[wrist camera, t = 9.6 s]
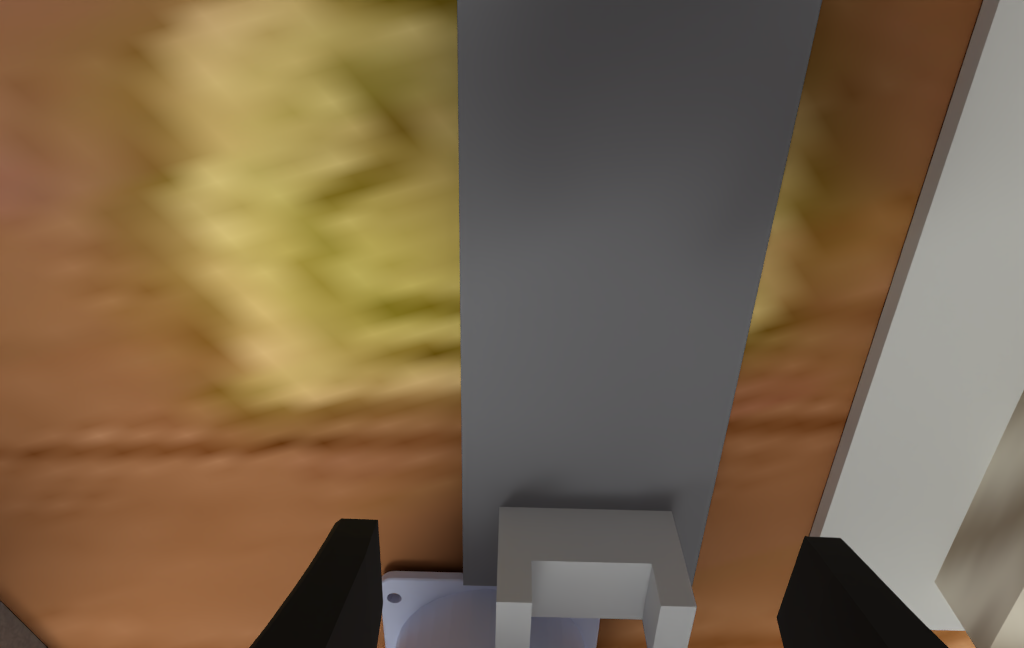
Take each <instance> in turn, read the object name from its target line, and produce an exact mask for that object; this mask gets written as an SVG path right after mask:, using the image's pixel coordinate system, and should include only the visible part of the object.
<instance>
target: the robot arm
mask: <svg viewBox="0 0 1024 648" xmlns="http://www.w3.org/2000/svg"><path fill="white" fill-rule="evenodd" d="M393 593H396V594H393ZM496 596H497V586H470V585H463V573H458V572H418V571H390V572H387V573H385V574H384V575H383V576H382V577H381V561H380V546H379V531H378V520H366V519H340V520H339V521H338V522H336V523H335V525H334V526H333V528H332V530H331V532H330V533H329V535H328V537H327V538H326V540H325V542H324V543H323V545H322V546H321V548H320V550H319V551H318V553H317V554H316V556H315V558H314V559H313V561H312V562H311V564H310V565H309V567H308V568H307V570H306V571H305V573H304V574H303V576H302V577H301V579H300V580H299V582H298V583H297V584H296V586H295V587H294V589H293V590H292V592H291V593H290V594H289V596H288V597H287V598H286V600H285V601H284V603H283V604H282V605H281V607H280V608H279V609H278V611H277V612H276V614H275V615H274V616H273V618H272V619H271V620H270V622H269V623H268V625H267V626H266V627H265V629H264V630H263V631H262V632H261V634H260V635H259V636H258V638H257V639H256V640H255V641H254V642H253V644H252V645H251V646H250V647H249V648H377V642H378V635H379V629H380V622H381V615H382V616H383V627H384V637H385V648H495V636H496ZM777 621H778V625H779V629H780V633H781V638H782V642H783V646H784V648H948V647H947V646H946V645H945V644H944V643H943V642H942V641H941V640H940V639H939V638H938V637H937V636H936V635H935V634H934V633H933V632H932V631H931V630H930V629H929V628H928V627H927V626H926V625H925V624H924V623H923V622H922V621H921V620H920V619H919V618H918V617H917V616H916V615H915V614H914V613H913V612H912V611H911V610H910V609H909V608H908V607H907V606H906V605H905V604H904V603H903V602H902V601H901V599H900V598H899V597H898V596H897V595H896V594H895V593H894V592H893V591H892V590H891V589H890V588H889V587H888V586H887V585H886V584H885V583H884V582H883V581H882V580H881V579H880V578H879V577H878V576H877V575H876V574H875V573H874V571H873V570H872V569H871V568H870V567H869V566H868V565H867V564H866V563H865V562H864V561H863V560H862V559H861V558H860V557H859V556H858V555H857V554H856V553H855V552H854V551H853V550H852V549H851V548H850V547H849V546H848V545H847V544H846V543H845V542H844V541H843V540H842V539H841V538H834V537H808V536H805V537H804V540H803V543H802V546H801V548H800V551H799V554H798V557H797V560H796V563H795V566H794V569H793V572H792V575H791V578H790V580H789V583H788V586H787V589H786V592H785V595H784V598H783V601H782V604H781V607H780V610H779V612H778V615H777ZM599 624H600V618H561V617H531V630H530V647H529V648H596V646H597V639H598V631H599Z"/></svg>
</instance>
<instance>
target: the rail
mask: <svg viewBox="0 0 1024 648" xmlns="http://www.w3.org/2000/svg"><path fill="white" fill-rule="evenodd" d="M935 584H936V585H937V587H938V588H939V590H940V592H941V593H942V595H943V596H944V598H945V599H946V601H947V603H948V604H949V606H950V607H951V609H952V610H953V612H954V614H955V615H956V617H957V618H958V620H959V621H960V623H961V625H962V626H963V628H964V629H965V631H966V632H967V634H968V636H969V637H970V639H971V640H972V642H973V644H974V645H975V647H976V648H1024V390H1023V393H1022V395H1021V397H1020V399H1019V401H1018V403H1017V406H1016V408H1015V410H1014V412H1013V414H1012V416H1011V418H1010V421H1009V423H1008V425H1007V427H1006V429H1005V431H1004V433H1003V436H1002V438H1001V440H1000V442H999V444H998V446H997V449H996V451H995V453H994V455H993V457H992V459H991V461H990V464H989V466H988V468H987V470H986V472H985V474H984V476H983V479H982V481H981V483H980V485H979V487H978V489H977V492H976V494H975V496H974V498H973V500H972V502H971V504H970V507H969V509H968V511H967V513H966V515H965V517H964V519H963V522H962V524H961V526H960V528H959V530H958V532H957V535H956V537H955V539H954V541H953V543H952V545H951V547H950V550H949V552H948V554H947V556H946V558H945V560H944V562H943V565H942V567H941V569H940V571H939V573H938V575H937V578H936V580H935Z"/></svg>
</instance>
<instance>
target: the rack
mask: <svg viewBox="0 0 1024 648" xmlns="http://www.w3.org/2000/svg"><path fill="white" fill-rule="evenodd" d="M821 3H822V0H457V27H458V124H459V222H460V320H461V417H462V515H463V585H470V586H497V596H496V636H495V648H529V647H530V630H531V617H561V618H602V619H642V621H643V627H644V632H645V638H646V643H647V648H687V647H688V643H689V638H690V634H691V630H692V625H693V621H694V617H695V612H696V608H697V606H696V602H695V598H694V595H693V591H692V584H693V579H694V575H695V570H696V566H697V561H698V557H699V552H700V548H701V543H702V539H703V534H704V530H705V525H706V521H707V516H708V512H709V507H710V503H711V498H712V494H713V489H714V485H715V480H716V476H717V471H718V467H719V462H720V458H721V453H722V449H723V444H724V440H725V435H726V431H727V426H728V422H729V417H730V413H731V408H732V404H733V399H734V395H735V390H736V386H737V381H738V377H739V372H740V368H741V363H742V359H743V354H744V350H745V345H746V341H747V336H748V332H749V327H750V323H751V318H752V314H753V309H754V305H755V300H756V296H757V291H758V287H759V282H760V278H761V273H762V269H763V264H764V260H765V255H766V251H767V246H768V242H769V237H770V233H771V228H772V224H773V219H774V215H775V210H776V206H777V201H778V197H779V192H780V188H781V183H782V179H783V174H784V170H785V165H786V161H787V156H788V152H789V147H790V143H791V138H792V134H793V129H794V125H795V120H796V116H797V111H798V107H799V102H800V98H801V93H802V89H803V84H804V80H805V75H806V71H807V66H808V62H809V57H810V53H811V48H812V44H813V39H814V35H815V30H816V26H817V21H818V17H819V12H820V8H821Z"/></svg>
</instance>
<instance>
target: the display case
mask: <svg viewBox="0 0 1024 648" xmlns="http://www.w3.org/2000/svg"><path fill="white" fill-rule="evenodd" d="M0 648H47V647H46V646H45V645H44V644H43V643H42V642H41V641H40V640H39V639H38V638H37V637H36V636H35V635H34V634H33V633H32V632H31V631H30V630H29V629H28V628H27V627H26V626H25V625H24V624H23V623H22V622H21V621H20V620H19V619H18V618H17V617H16V616H15V615H14V614H13V613H12V612H11V611H10V610H9V609H8V608H7V607H6V606H5V605H4V604H3V603H2V602H1V601H0Z"/></svg>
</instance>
